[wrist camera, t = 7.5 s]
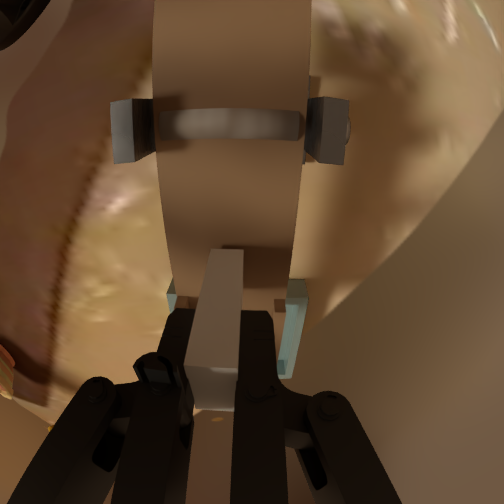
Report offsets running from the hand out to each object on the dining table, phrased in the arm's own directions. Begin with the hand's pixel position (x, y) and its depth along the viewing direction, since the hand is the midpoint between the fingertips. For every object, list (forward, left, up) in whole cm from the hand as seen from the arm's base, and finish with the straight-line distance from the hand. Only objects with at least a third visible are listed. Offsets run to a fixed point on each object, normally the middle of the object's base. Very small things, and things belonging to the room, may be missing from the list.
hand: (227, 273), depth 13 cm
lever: (-4, 0, -4) cm, 6 cm away
